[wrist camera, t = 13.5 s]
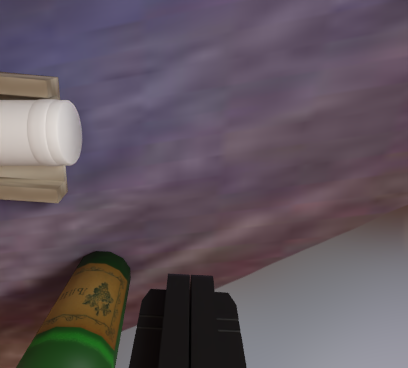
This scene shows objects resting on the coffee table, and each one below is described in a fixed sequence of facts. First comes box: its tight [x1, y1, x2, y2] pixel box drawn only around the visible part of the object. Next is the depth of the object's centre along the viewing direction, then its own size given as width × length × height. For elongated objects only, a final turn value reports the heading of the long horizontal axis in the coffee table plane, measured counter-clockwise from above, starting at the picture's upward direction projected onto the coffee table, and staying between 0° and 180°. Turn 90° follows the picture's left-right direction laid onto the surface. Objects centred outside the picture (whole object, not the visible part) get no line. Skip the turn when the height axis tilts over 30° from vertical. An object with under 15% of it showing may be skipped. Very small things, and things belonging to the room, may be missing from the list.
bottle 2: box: [16, 251, 130, 368], centre depth 41 cm, size 11×11×28 cm
